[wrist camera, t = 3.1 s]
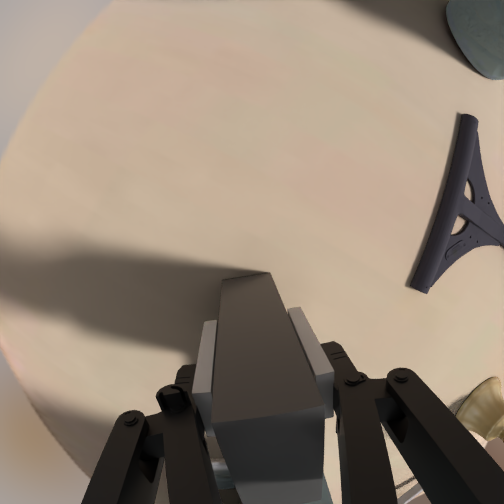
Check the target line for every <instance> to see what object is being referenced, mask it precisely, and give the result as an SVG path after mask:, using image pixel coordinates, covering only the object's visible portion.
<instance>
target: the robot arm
mask: <svg viewBox="0 0 504 504" xmlns="http://www.w3.org/2000/svg"><path fill="white" fill-rule="evenodd" d="M287 310H288V317H289V319H290V321H291V324H292V326H293V329H294V331H295V333H296V336H297V338H298V341H299V343H300V346H301V348H302V350H303V353H304V355H305V358H306V360H307V363H308V365H309V368H310V370H311V372H312V375H313V377H314V380H315V382H316V385H317V387H318V390H319V392H320V394H321V397H322V399H323V402H324V404H325V419H326V418H331V417H333V416H334V411H335V413H336V415H337V419H336V433H337V435H338V447H339V459H340V474H341V491H342V504H398V501H397V495H396V490H395V485H394V480H393V475H392V470H391V465H390V461H389V456H388V452H387V447H386V443H385V439H384V435H383V431H382V427H381V424H382V425H383V427H384V428H385V430H386V431H387V433H388V435H389V436H390V438H391V439H392V441H393V442H394V444H395V446H396V447H397V449H398V450H399V452H400V454H401V455H402V457H403V458H404V460H405V462H406V463H407V465H408V466H409V468H410V470H411V471H412V473H413V474H414V476H415V478H416V479H417V481H418V483H419V484H420V486H421V487H422V489H423V491H424V492H425V494H426V496H427V497H428V499H429V500H430V502H431V504H504V471H503V470H502V469H501V468H500V467H499V465H498V464H497V463H496V462H495V461H494V460H493V458H492V457H491V456H490V455H489V454H488V453H487V451H486V450H485V449H484V448H483V447H482V446H481V445H480V443H479V442H478V441H477V440H476V439H475V438H474V437H473V435H472V434H471V433H470V432H469V431H468V430H467V429H466V428H465V427H464V425H463V424H462V423H461V422H460V421H459V420H458V419H457V418H456V417H455V415H454V414H453V413H452V412H451V411H450V410H449V409H448V408H447V407H446V406H445V404H444V403H443V402H442V401H441V400H440V399H439V398H438V397H437V396H436V395H435V394H434V393H433V392H432V390H431V389H430V388H429V387H428V386H427V385H426V384H425V383H424V382H423V381H422V380H421V379H420V378H419V377H418V376H417V374H416V373H415V372H413V371H412V370H411V369H407V368H396V369H393V370H391V371H390V372H389V373H388V374H387V378H383V379H370V378H368V377H367V375H366V374H364V373H362V372H358V371H357V369H356V368H355V366H354V365H353V363H352V362H351V360H350V358H349V357H348V355H347V354H346V352H345V351H344V349H343V348H342V346H341V345H340V344H338V343H336V342H335V341H332V342H328V343H323V344H320V343H319V341H318V339H317V337H316V335H315V334H314V332H313V330H312V328H311V326H310V324H309V322H308V320H307V319H306V317H305V315H304V313H303V311H302V309H301V307H295V308H290V309H287ZM217 333H218V322H217V320H211V321H204V326H203V331H202V336H201V342H200V348H199V353H198V359H197V364H192V365H183V366H182V367H181V368H180V369H179V370H178V372H177V376H176V379H175V384H171V385H167V386H164V387H163V388H161V389H160V390H159V391H158V392H157V394H156V399H157V401H158V403H159V406H160V408H161V410H162V412H160V413H157V414H154V415H150V416H146V417H145V416H144V414H143V413H142V412H140V411H137V410H131V411H127V412H124V413H123V414H121V415H120V416H119V417H118V419H117V421H116V423H115V425H114V427H113V429H112V432H111V434H110V436H109V438H108V441H107V443H106V445H105V447H104V450H103V452H102V454H101V457H100V459H99V461H98V464H97V466H96V468H95V471H94V473H93V476H92V478H91V480H90V483H89V485H88V488H87V490H86V493H85V495H84V498H83V500H82V503H81V504H154V503H155V498H156V494H157V489H158V485H159V480H160V476H161V471H162V467H163V463H164V458H165V465H166V476H167V485H168V493H169V501H170V504H222V500H221V497H220V493H219V490H218V486H217V482H216V479H215V475H214V471H213V467H212V463H211V459H210V455H209V451H208V447H207V443H206V441H205V438H204V433H205V432H206V434H207V437H209V436H215V433H214V430H213V427H212V424H211V414H212V399H213V385H214V371H215V358H216V345H217ZM380 422H381V423H380Z"/></svg>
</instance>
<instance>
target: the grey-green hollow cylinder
mask: <svg viewBox="0 0 504 504" xmlns="http://www.w3.org/2000/svg"><path fill="white" fill-rule="evenodd" d="M446 16H447V21H448V24H449V27H450V29H451V32H452V34H453V36H454V38H455V40H456V42H457V44H458V45H459V47H460V49H461V50H462V52H463V53H464V55H465V56H466V58H467V59H468V60H469V61H470V63H471V64H472V65H473V66H474V67H475V68H476V69H477V70H478V71H479V72H480V73H481V74H482V75H484V76H485V77H487V78H489V79H492V80H501V79H504V0H450V1H449V3H448V4H447V7H446Z"/></svg>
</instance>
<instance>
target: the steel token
mask: <svg viewBox="0 0 504 504" xmlns="http://www.w3.org/2000/svg"><path fill="white" fill-rule="evenodd" d="M211 463H212V467H213V471H214V475H215V479H216V482H217V486H218V489H233V488H236V487H235V485H234V482H233V480H232V477H231V475H230V472H229V470H228V467H227V465H226V462H225V460H224V458H215V459H211Z"/></svg>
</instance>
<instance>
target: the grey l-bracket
mask: <svg viewBox="0 0 504 504" xmlns="http://www.w3.org/2000/svg"><path fill="white" fill-rule="evenodd" d="M211 424H212V427H213V430H214V433H215V436H216V438H217V441H218V444H219V447H220V449H221V452H222V455H223V457H224V460H225V462H226V465H227V467H228V470H229V472H230V475H231V477H232V480H233V482H234V485H235V487H236V490H237V492H238V494H239V497H240V499H241V501H242V503H243V504H304V503H309V502H314V501H319V500H322V484H323V464H324V431H325V404H324V402H323V399H322V397H321V394H320V392H319V390H318V387H317V385H316V382H315V380H314V377H313V375H312V372H311V370H310V368H309V365H308V363H307V360H306V358H305V355H304V353H303V350H302V348H301V346H300V343H299V341H298V338H297V336H296V333H295V331H294V329H293V326H292V324H291V321H290V319H289V317H288V314H287V312H286V309H285V307H284V305H283V302H282V300H281V297H280V295H279V293H278V290H277V288H276V285H275V283H274V281H273V278H272V276H271V273H265V274H258V275H252V276H245V277H239V278H232V279H225V280H222V289H221V300H220V311H219V322H218V333H217V345H216V358H215V371H214V385H213V399H212V414H211Z"/></svg>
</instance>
